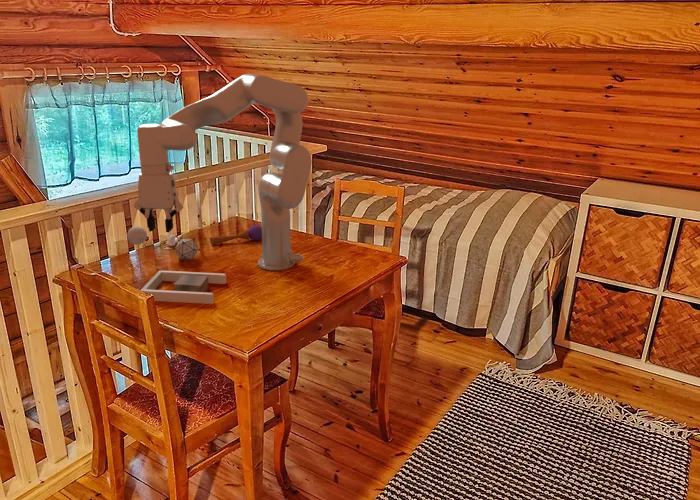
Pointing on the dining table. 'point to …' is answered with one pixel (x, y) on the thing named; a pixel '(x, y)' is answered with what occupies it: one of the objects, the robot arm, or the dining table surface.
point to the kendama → (240, 235)
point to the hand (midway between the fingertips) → (160, 229)
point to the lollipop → (137, 237)
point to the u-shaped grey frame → (182, 295)
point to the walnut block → (191, 283)
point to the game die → (186, 249)
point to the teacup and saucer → (171, 240)
